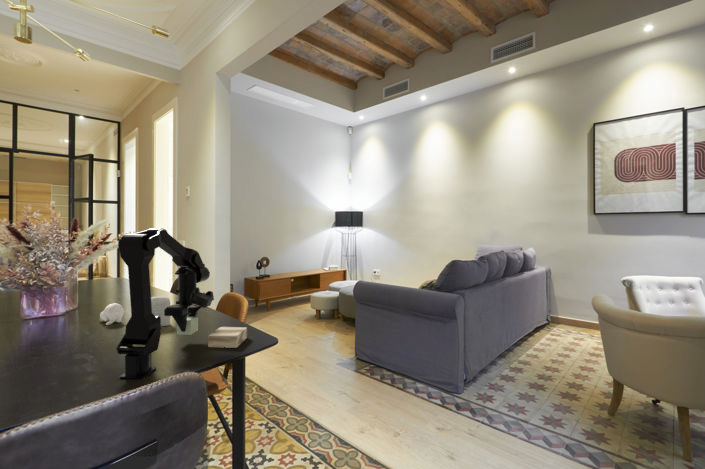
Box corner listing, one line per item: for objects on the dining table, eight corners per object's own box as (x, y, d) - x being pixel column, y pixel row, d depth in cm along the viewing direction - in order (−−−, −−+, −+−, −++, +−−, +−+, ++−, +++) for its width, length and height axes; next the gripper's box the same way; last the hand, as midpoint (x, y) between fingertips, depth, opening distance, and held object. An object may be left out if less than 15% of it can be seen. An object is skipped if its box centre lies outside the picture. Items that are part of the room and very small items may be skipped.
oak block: (236, 347, 113) (236, 336, 113) (208, 347, 114) (208, 335, 114) (246, 337, 123) (246, 327, 123) (220, 337, 124) (220, 326, 124)
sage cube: (190, 334, 115) (190, 320, 114) (176, 334, 115) (176, 320, 115) (198, 330, 120) (198, 316, 119) (184, 329, 120) (184, 316, 120)
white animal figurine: (108, 305, 135) (93, 304, 141) (109, 326, 135) (94, 324, 141) (124, 302, 141) (110, 301, 146) (126, 322, 140) (111, 320, 146)
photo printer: (170, 323, 141) (169, 294, 140) (170, 325, 137) (170, 296, 137) (141, 327, 135) (141, 297, 135) (141, 329, 131) (141, 299, 131)
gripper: (196, 291, 107) (196, 338, 107) (221, 281, 126) (221, 322, 126) (162, 290, 107) (163, 338, 108) (192, 281, 126) (192, 321, 127)
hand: (187, 329), depth 117 cm, fingers closed on sage cube, 5 cm apart
